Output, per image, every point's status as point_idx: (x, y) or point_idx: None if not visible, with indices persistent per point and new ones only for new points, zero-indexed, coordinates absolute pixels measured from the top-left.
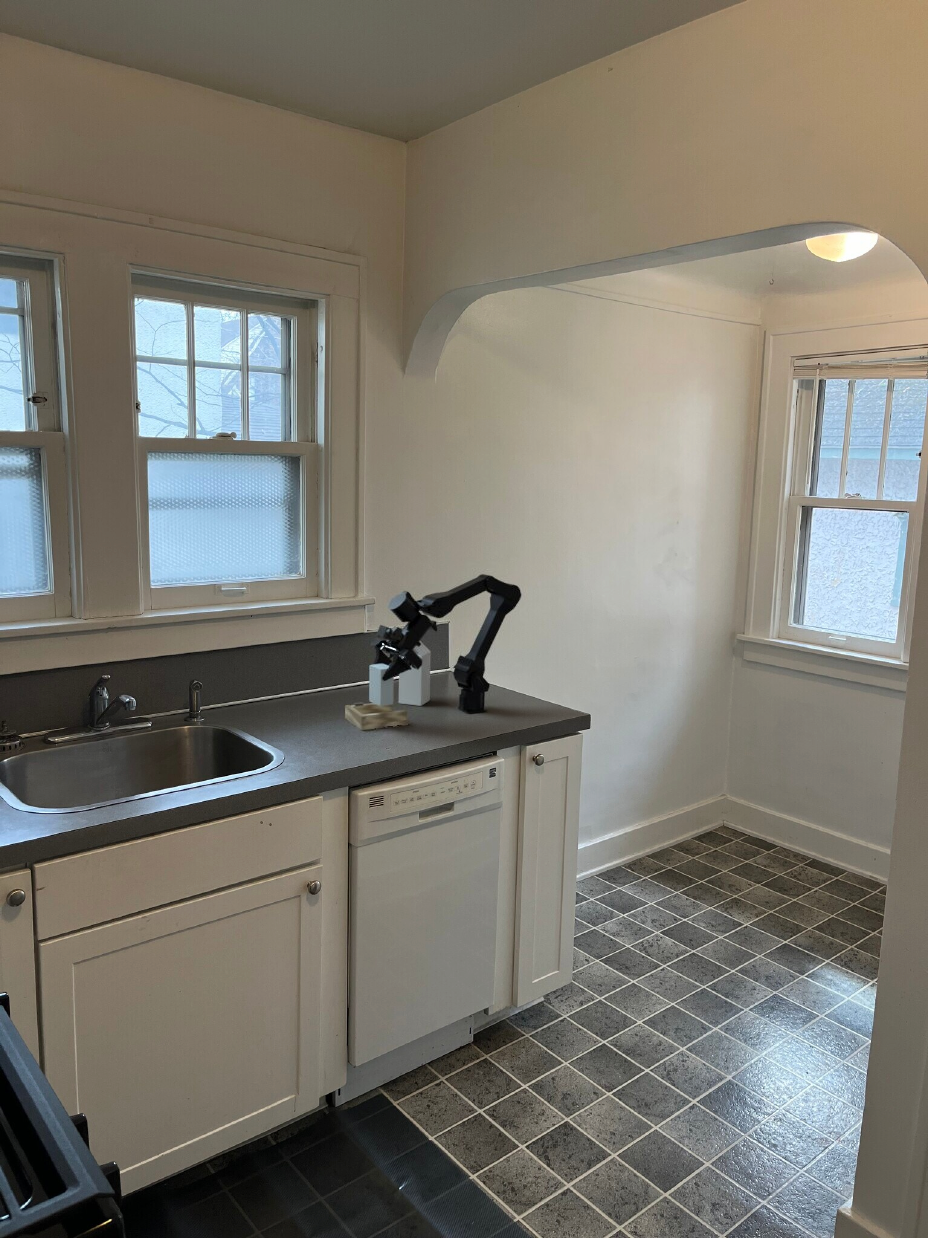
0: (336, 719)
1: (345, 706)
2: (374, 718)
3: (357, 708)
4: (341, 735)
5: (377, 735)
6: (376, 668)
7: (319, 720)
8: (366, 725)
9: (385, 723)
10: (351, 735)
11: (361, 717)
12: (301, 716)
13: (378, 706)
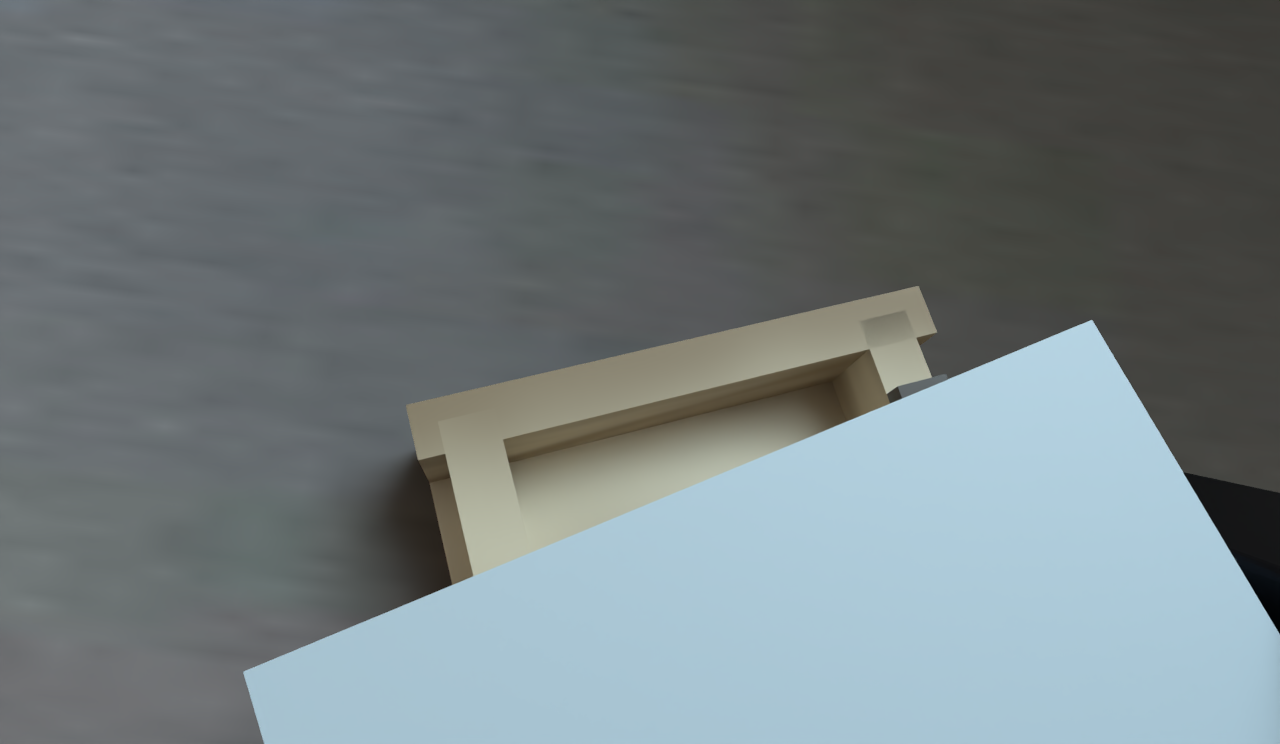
0: (833, 259)
1: (905, 291)
2: None
3: None
4: (287, 234)
5: (193, 599)
6: (610, 523)
7: (805, 117)
8: (432, 493)
9: None
10: (264, 325)
11: (411, 407)
12: (928, 3)
13: None
